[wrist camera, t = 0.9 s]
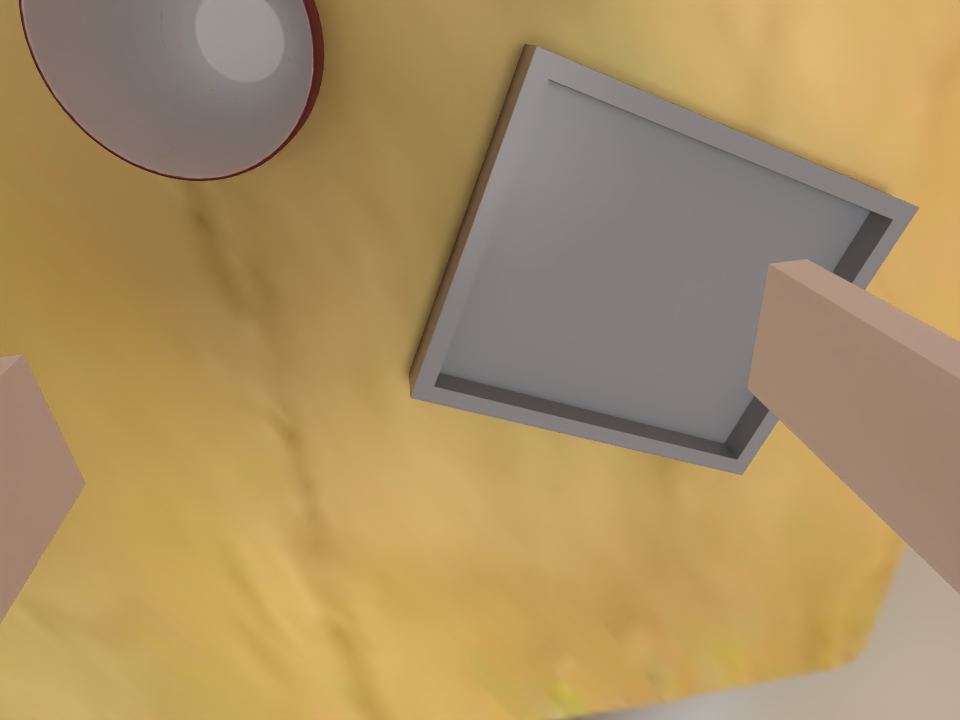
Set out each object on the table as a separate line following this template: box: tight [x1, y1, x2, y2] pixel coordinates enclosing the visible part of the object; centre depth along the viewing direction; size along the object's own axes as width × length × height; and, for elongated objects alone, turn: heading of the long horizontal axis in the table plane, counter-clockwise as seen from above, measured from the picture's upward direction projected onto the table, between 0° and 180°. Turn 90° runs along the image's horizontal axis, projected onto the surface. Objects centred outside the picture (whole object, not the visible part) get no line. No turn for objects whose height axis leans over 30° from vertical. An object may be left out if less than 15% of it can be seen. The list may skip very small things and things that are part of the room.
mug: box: [19, 0, 324, 181], centre depth 22 cm, size 10×8×10 cm
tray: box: [409, 44, 919, 475], centre depth 34 cm, size 22×18×2 cm
